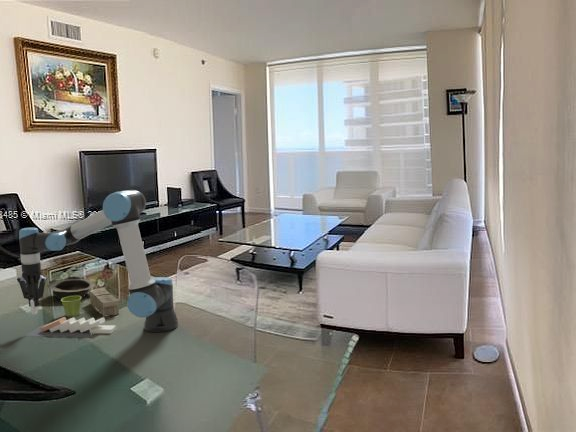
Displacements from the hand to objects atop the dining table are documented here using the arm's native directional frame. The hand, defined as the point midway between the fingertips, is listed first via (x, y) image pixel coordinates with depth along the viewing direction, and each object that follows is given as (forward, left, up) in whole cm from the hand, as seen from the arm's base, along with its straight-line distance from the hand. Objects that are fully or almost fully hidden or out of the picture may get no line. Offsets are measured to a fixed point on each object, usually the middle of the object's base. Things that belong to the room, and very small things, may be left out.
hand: (34, 313), depth 213 cm
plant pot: (+6, -22, -9) cm, 24 cm away
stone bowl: (+36, -40, -9) cm, 55 cm away
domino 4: (-15, -9, -7) cm, 19 cm away
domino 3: (-11, -6, -7) cm, 15 cm away
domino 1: (-3, -2, -7) cm, 8 cm away
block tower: (+1, -36, -9) cm, 37 cm away
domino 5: (-19, -11, -7) cm, 23 cm away
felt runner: (-12, -7, -8) cm, 16 cm away
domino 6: (-23, -13, -7) cm, 27 cm away
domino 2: (-7, -4, -7) cm, 11 cm away
